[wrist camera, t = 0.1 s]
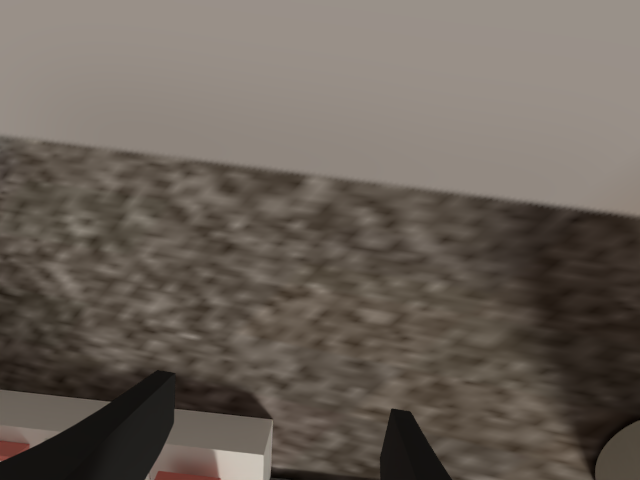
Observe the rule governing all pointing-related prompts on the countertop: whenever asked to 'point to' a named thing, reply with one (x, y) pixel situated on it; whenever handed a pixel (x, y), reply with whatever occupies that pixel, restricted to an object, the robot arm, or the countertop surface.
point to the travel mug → (621, 456)
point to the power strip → (180, 447)
